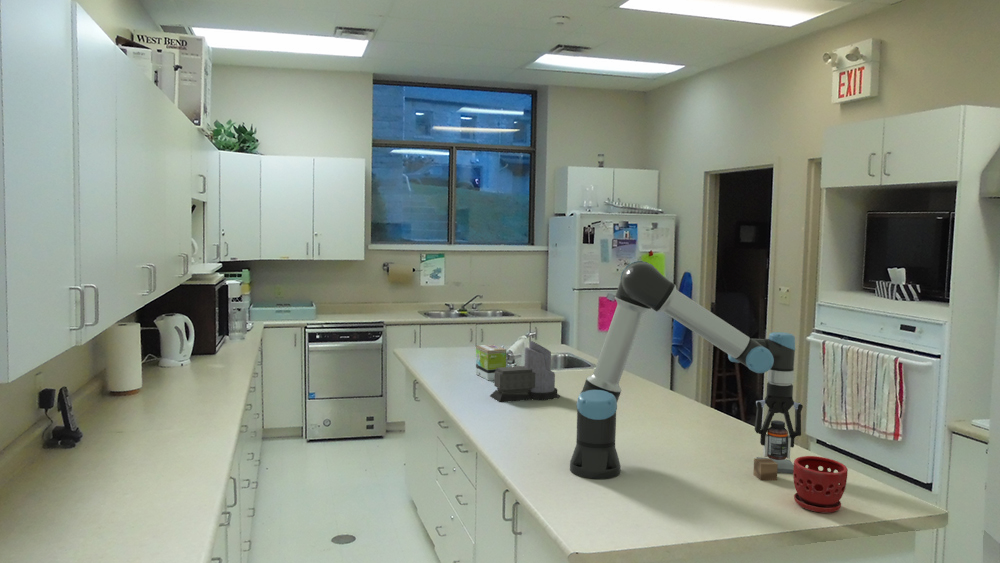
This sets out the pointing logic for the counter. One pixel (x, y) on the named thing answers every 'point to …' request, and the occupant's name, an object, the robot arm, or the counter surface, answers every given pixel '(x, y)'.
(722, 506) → the counter surface
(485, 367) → the tea box
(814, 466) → the plant pot
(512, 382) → the juicer
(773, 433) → the supplement bottle
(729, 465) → the counter surface
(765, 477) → the walnut cube
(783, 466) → the coaster
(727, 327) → the robot arm
